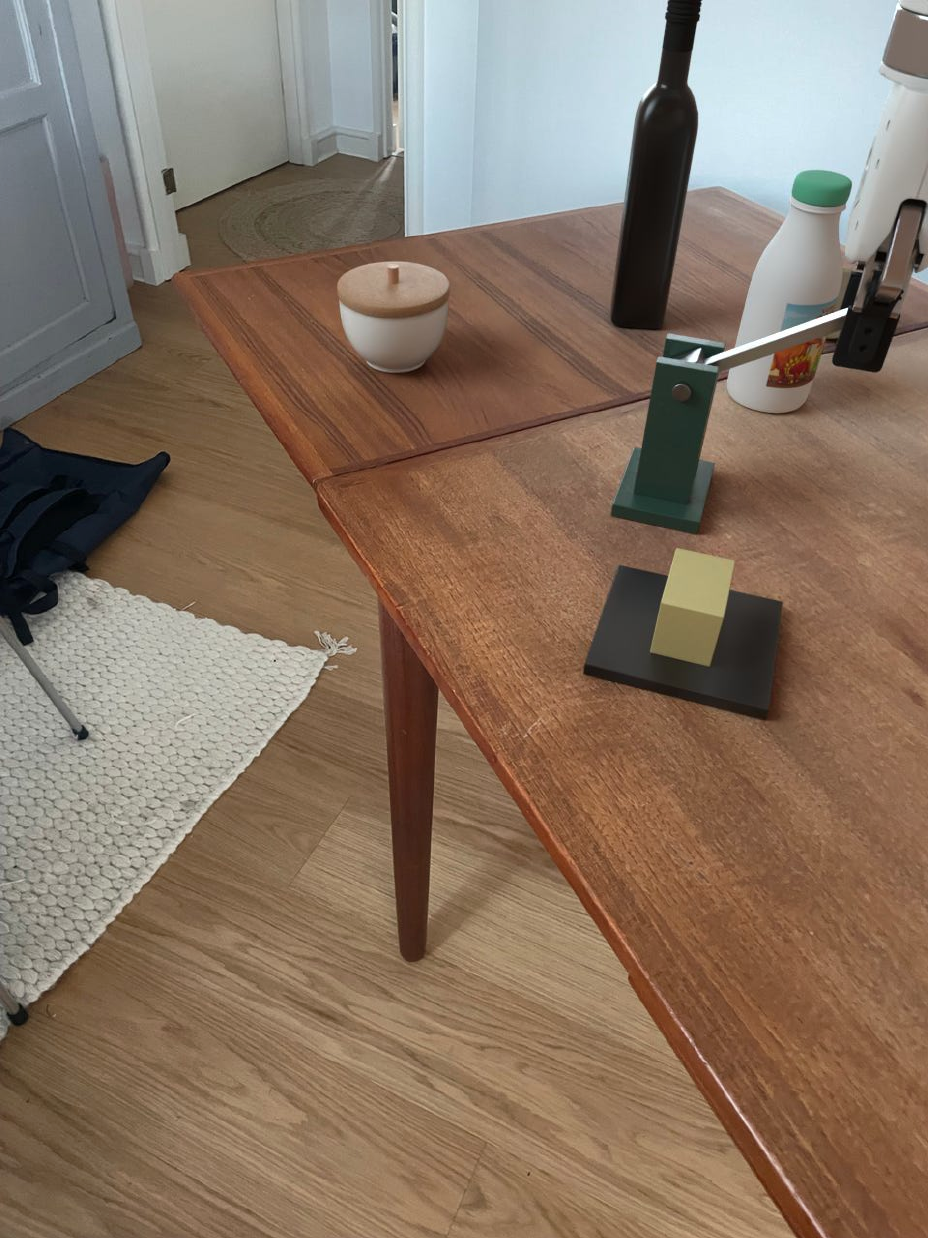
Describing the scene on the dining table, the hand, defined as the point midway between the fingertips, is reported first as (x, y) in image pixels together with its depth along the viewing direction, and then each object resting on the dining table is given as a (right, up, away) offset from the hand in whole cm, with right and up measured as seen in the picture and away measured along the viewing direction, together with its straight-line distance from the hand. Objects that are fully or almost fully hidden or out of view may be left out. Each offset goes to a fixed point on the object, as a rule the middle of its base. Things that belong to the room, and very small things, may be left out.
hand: (857, 345), depth 65 cm
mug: (+11, +13, +37) cm, 41 cm away
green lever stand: (-11, -9, +13) cm, 19 cm away
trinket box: (-34, +7, +29) cm, 46 cm away
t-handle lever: (-5, 0, +3) cm, 6 cm away
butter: (-12, -20, -1) cm, 23 cm away
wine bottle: (-9, +14, +37) cm, 41 cm away
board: (-12, -21, 0) cm, 24 cm away
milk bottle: (+2, +2, +26) cm, 26 cm away
